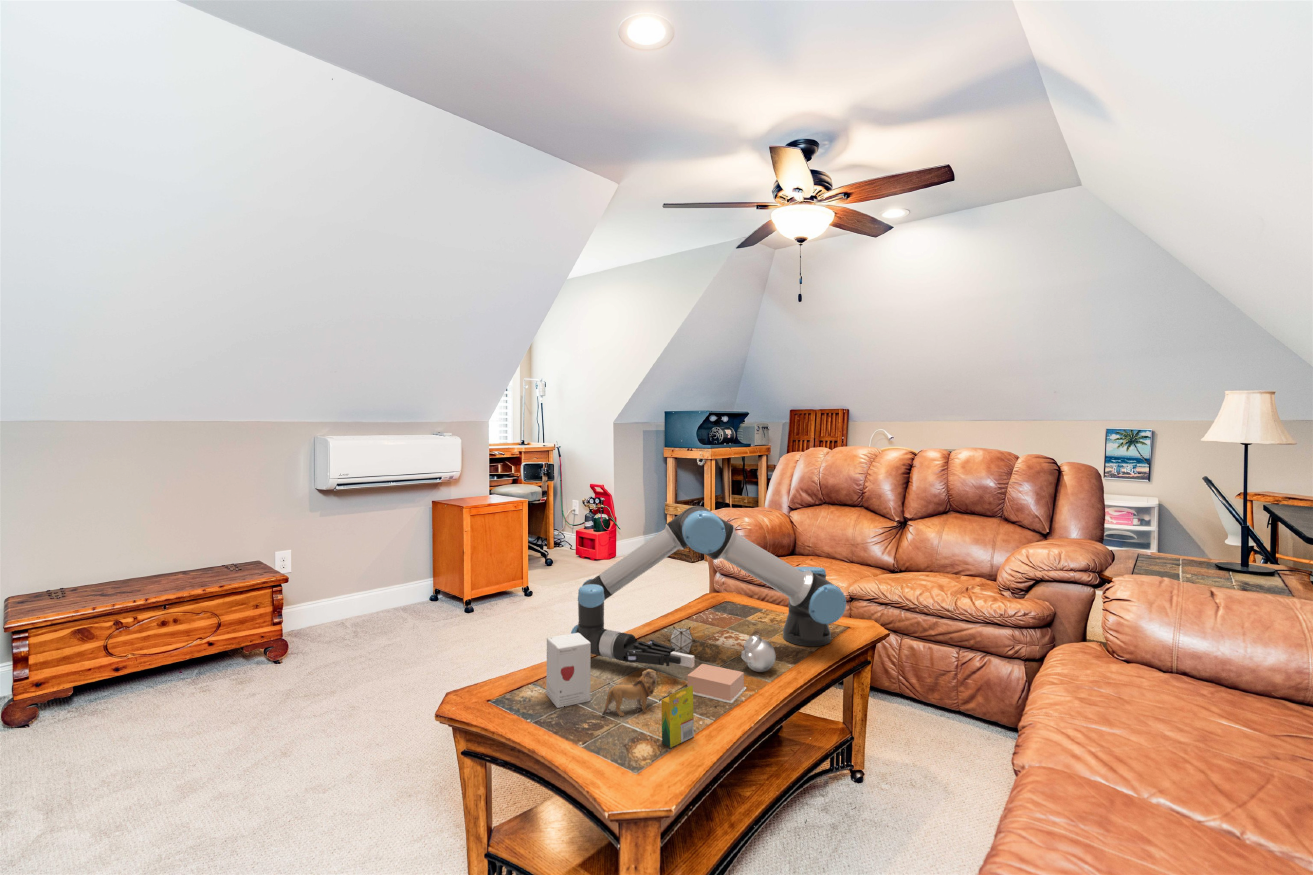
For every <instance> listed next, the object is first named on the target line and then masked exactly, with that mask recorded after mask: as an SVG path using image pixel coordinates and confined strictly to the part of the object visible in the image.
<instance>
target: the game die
mask: <svg viewBox="0 0 1313 875" xmlns="http://www.w3.org/2000/svg"><path fill="white" fill-rule="evenodd" d="M672 627H673V631H672V633H671V635H670V638H669V639H667V642H669V643H670V647H673V648H675V652H678V653H683V654H688V655H691V653H690V651H691V650H692V646H693V645H694V643H696V642H697V641H696V640H694V638H693V635H692V633H691V628H692V627H691V626H689V627H688V628H682V627H681V628H679V627H678V628H677V627H676V626H674V625H673V626H672Z"/></svg>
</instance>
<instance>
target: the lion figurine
mask: <svg viewBox="0 0 1313 875" xmlns="http://www.w3.org/2000/svg"><path fill="white" fill-rule="evenodd" d="M657 682H658V676H657V671H655V670H654V669H650V668H649V669H646V670H644V671H642V673H641V676H640V677H639V678H638V680H637V681H636V682H635V683H632V684H627V685H626V684H616V685H614V686H612V687H611V688H610V689H609V691H608V694H607V695H606V700H605V707H604V711H603V712H602V714H601V716H605V715H606V713H611V712H612V708H610V705H612V704H613V703H614V702H615V712H617V714H618V715H619V717H625V715H626V714H625V712H622V711H621V707H622V703H623V699H624V700H625V701H631V702H632V701H636V707H637V708H638V709H641V710H642V712H645V713H647V712H648V711H649V708H648V707H647V703H648V698H649V697H652V695H653V694H654V692H655V690H656V688H657Z"/></svg>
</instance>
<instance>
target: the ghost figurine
mask: <svg viewBox="0 0 1313 875" xmlns="http://www.w3.org/2000/svg"><path fill="white" fill-rule="evenodd" d="M743 648H744V649H743V650H742V651H741V653H740V657H741V659H742V660H743V661H744V662H745V663H746V664H747V667H748V668H749V669H750V670H752V671H754V672H757V673H764V672H767V671H769V670H770V669H772V667H773V666H774V665H775V662H776V657H777V656H776V650H775V648H774V647H773V645H772V644H771V643H770V642H769V641H767V640H765V639H762V638H761V635H757V634H756V635H751V636H750V637H748V638H747V639H746V640H745V642H744V644H743Z"/></svg>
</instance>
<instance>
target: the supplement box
mask: <svg viewBox="0 0 1313 875" xmlns="http://www.w3.org/2000/svg"><path fill="white" fill-rule="evenodd" d="M591 655H592V654H591V643H590V642H589V641H588V640H587V639H585V638H584V637H583V636H582V635H581V634H580V633H573V634H571V633H568V634H560V635H555V636H550V637H547V638H546V689H545V690H546V693H545V694H546V696H547V698H549V699H550V701H551V702H552V704H554V706H555V707H556V708H557V709H559V708H564V706H565V707H569V706H575V705H578V704H582V703H583V704H584V703H588V702H590V701H591V657H592V656H591Z"/></svg>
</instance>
